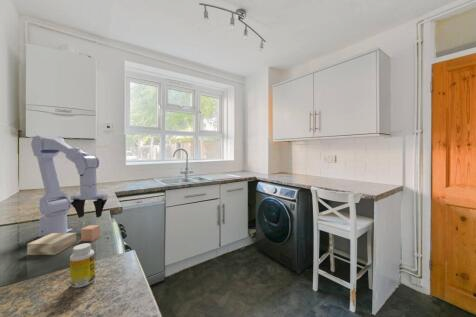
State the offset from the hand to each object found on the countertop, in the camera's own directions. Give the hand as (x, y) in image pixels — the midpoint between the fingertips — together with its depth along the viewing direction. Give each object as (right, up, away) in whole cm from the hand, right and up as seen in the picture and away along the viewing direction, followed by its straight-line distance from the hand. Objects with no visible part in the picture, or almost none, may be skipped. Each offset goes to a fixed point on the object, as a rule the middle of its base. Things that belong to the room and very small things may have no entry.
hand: (90, 216), depth 90 cm
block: (0, -9, 0) cm, 9 cm away
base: (-8, -10, -8) cm, 15 cm away
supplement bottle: (+19, -10, -30) cm, 37 cm away
